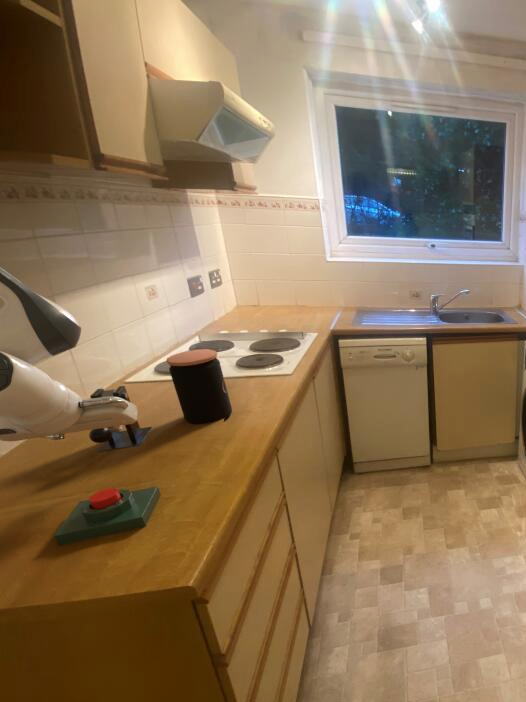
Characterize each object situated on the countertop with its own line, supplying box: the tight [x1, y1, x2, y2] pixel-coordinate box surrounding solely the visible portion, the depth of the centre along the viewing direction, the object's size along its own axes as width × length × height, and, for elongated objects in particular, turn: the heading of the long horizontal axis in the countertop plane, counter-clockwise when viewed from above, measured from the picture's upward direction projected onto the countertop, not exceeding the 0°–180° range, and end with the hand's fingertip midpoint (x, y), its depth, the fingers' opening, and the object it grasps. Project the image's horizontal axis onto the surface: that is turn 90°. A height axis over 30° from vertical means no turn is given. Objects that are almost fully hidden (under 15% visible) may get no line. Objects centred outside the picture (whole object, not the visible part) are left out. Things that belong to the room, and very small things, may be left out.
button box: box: [53, 485, 162, 546], centre depth 79 cm, size 12×10×4 cm
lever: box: [88, 389, 116, 444], centre depth 97 cm, size 14×4×4 cm, turn 26°
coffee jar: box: [166, 348, 233, 425], centre depth 113 cm, size 11×11×18 cm
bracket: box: [89, 385, 153, 453], centre depth 102 cm, size 10×8×14 cm
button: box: [88, 487, 121, 509], centre depth 78 cm, size 4×4×2 cm
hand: (89, 431), depth 90 cm, fingers open, 8 cm apart
